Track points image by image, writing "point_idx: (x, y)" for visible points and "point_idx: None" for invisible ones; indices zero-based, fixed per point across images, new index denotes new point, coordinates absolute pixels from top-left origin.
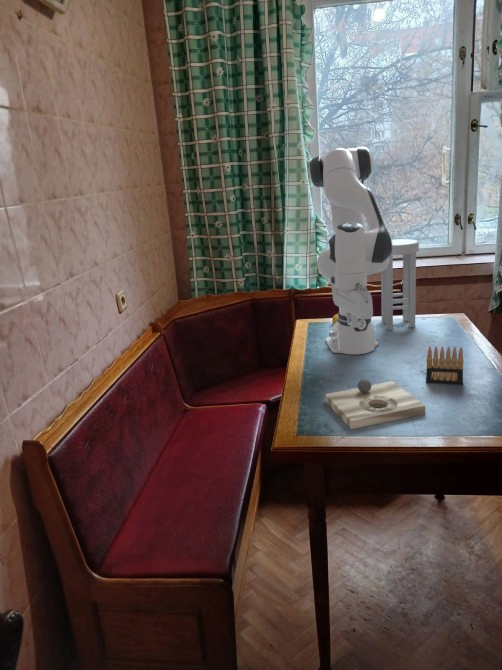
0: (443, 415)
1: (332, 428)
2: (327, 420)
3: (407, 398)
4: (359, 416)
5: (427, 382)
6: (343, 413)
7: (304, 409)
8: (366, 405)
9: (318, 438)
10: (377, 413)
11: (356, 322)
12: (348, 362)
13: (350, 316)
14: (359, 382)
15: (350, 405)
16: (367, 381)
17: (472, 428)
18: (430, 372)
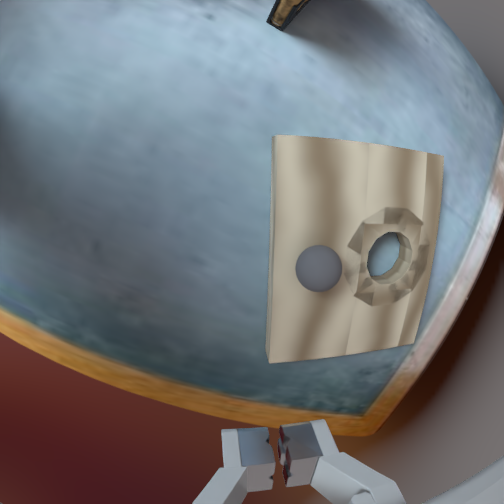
0: (446, 127)
1: (380, 363)
2: (350, 366)
3: (402, 169)
4: (410, 322)
5: (285, 27)
6: (380, 349)
7: (279, 396)
8: (382, 290)
9: (391, 388)
10: (422, 281)
11: (334, 453)
12: (23, 185)
13: (235, 501)
14: (320, 290)
15: (361, 325)
16: (336, 268)
17: (489, 123)
18: (298, 8)
